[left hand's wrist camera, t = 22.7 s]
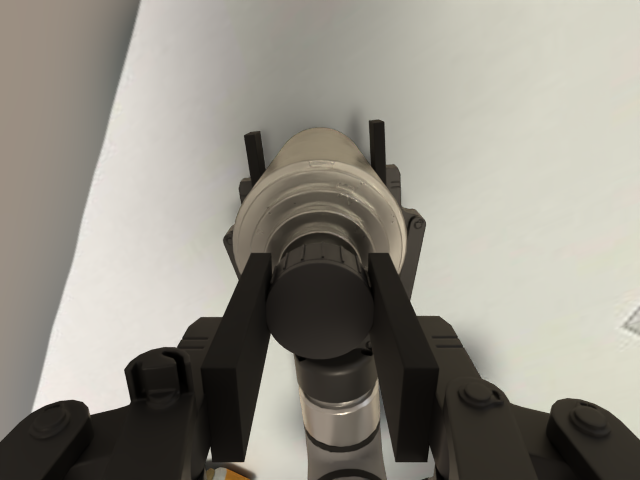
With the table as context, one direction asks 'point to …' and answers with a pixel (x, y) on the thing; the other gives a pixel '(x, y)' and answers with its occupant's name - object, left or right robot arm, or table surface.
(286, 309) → the cap
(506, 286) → the table surface
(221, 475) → the spray gun
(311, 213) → the bottle
